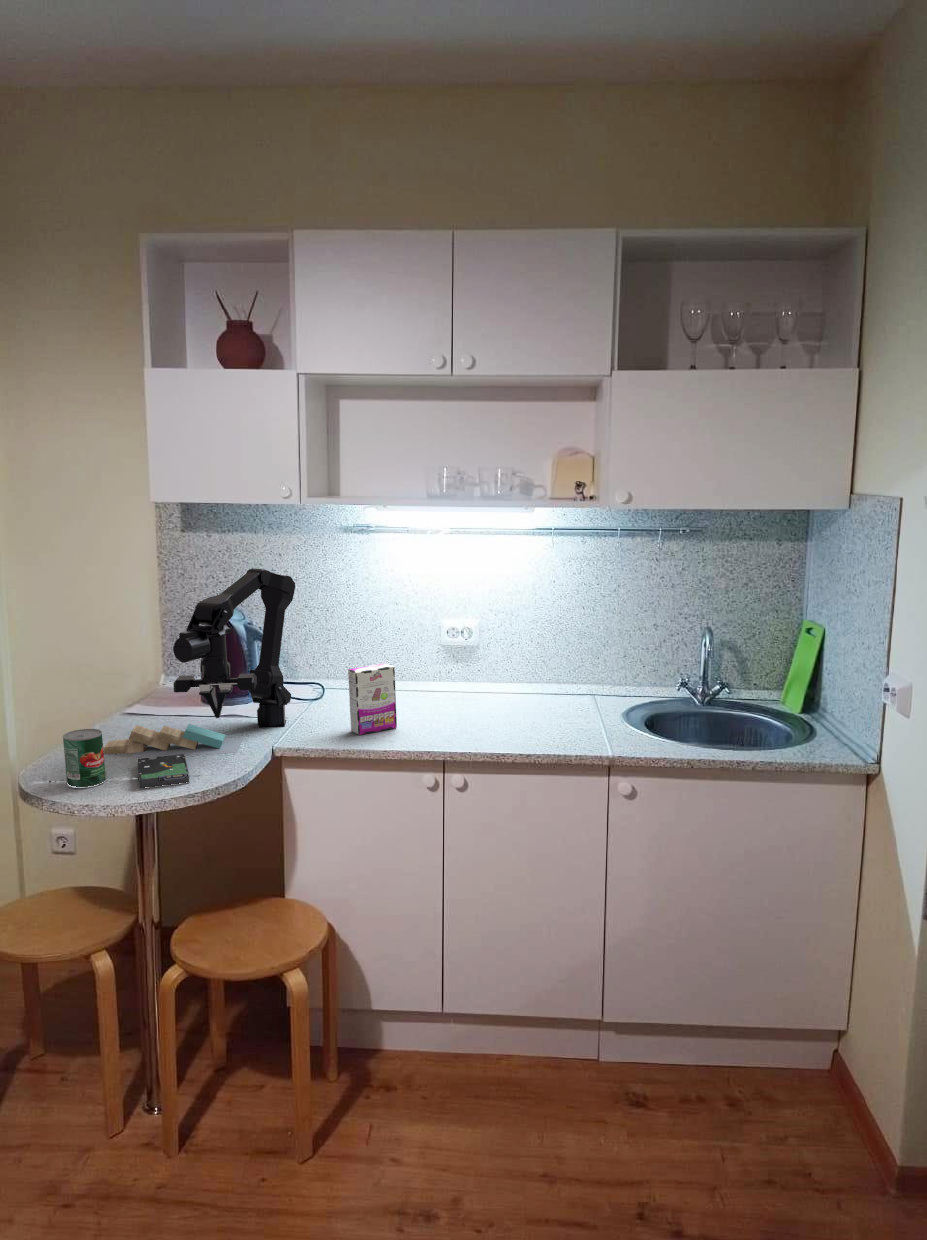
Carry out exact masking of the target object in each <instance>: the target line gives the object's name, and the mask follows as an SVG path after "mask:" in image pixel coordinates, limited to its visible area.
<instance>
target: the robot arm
mask: <svg viewBox="0 0 927 1240" xmlns="http://www.w3.org/2000/svg"><path fill="white" fill-rule="evenodd" d="M258 590H260V597H261V601H262V603H263V605H264V607H265V609H264V618H263V620H264V621H263V627H262V628H263V629H262V636H261V643H260V644H261V645H260V650H259V651H260V652H259V653H260V654H259V660H258V663H257V665H256V667H255V668H254V669H250V671H249V673H239V675H238V677H231V663H230V662H229V661H228V656H227V655H228V653H227V641H226V640H227V638H226V634H230V633H231V632H232V628H230V627H228V626H227V623H228V622H229V621H230V620H231V618H233V616H234V612H235V609H236V608H237V607H238V606H240V605H241V604H242V603H244V602H245V601H246V600H247V599H248V598H249V597H251V596H252V595H253V594H254V593H255V592H257V591H258ZM295 591H296V582H295V581H294V580H293V578H292V576H290V575H286V574H285V575H283V574H279V573H276V572H272V571H269V570H267V569H265V568H249V569H248V570H246V573H245V574H244V575H242V576H241V577H239V579H237V580H236V581H235V582H233V583H232V584H231V585H230V586H228V587H227V588H226V589H224V591H222V592H220V593H219V594H216V595H214V596H213V595H212V596H209V597H207V598H204V599H202V600H201V601H199V602H198V603H196V604H195V606H194V607H195V608H194V611H193V612H192V616H191V617H190V620H189V623H188V625H187V627H186V631H182V632H179V633H178V638H177V639H176V640H175V641H174V644H173V647H172V649H173V652H172V653H173V654H174V655H173V656H175V659H177V661H179V662H180V663H188V662H192V661H193V662H194V661H195V660H200V664H199V665H200V666H199V667H200V668H199V669H200V673H202V678H197V679H196V678H195V676H194V675H178V677H177V678H176V679H175V680H174V682H173V693H188V692H189V691H190V690H191V688H199V692H198V695H199V696H203V697H204V699H205V700H206V702H207V703H208V705H209V706H210V709H211V711H212V713H213V715H214V717H215V719H220V717H221V714H222V711H223V708H224V703H225V700H226V697H227V695H229V694H231V693H232V692H233V689H234V687H236V686H237V688H238V689H239V690H241V691H248V692H249V694H250V696H251V699H252V702H253V704H258V707H257V710H256V716H257V718H256V719H257V726H258V728H259V729H268V728H269V729H270V728H271V729H272V728H273V729H274V728H285V727H286V723H287V719H286V706H287V705H288V704H290V703H291V699H292V693H291V692H290V690H288V689H287V688H286V686H285V685H284V675H283V673H282V669H281V668H280V659H281V658H280V657H281V650H282V648H281V647H282V641H283V633H284V632H283V631H284V630H283V629H284V623H285V617H286V616H285V614H286V610H287V609H288V607H289V606H290V604H291V603H292V601H293V599H294V595H295ZM216 687H218V688H219V690H218V691H217V696H216Z"/></svg>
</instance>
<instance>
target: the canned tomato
mask: <svg viewBox="0 0 927 1240" xmlns="http://www.w3.org/2000/svg"><path fill="white" fill-rule="evenodd" d="M62 739H63V740H62V742H63V752H64V764H65V777H66V784H67V783H68V784H69V785H71V786H76V787H88V786H94V785H97V784H100V783H102V782H104V781H105V780H106V781H107V778H106V767H105V766H106V765H105V756H104V755H105V754H104V743H103V731H102V730H101V729H98V728H80V729H75V730H70V731H68V732H66V733H64V734H62ZM106 781H105V782H106ZM105 782H104V783H105Z"/></svg>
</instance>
